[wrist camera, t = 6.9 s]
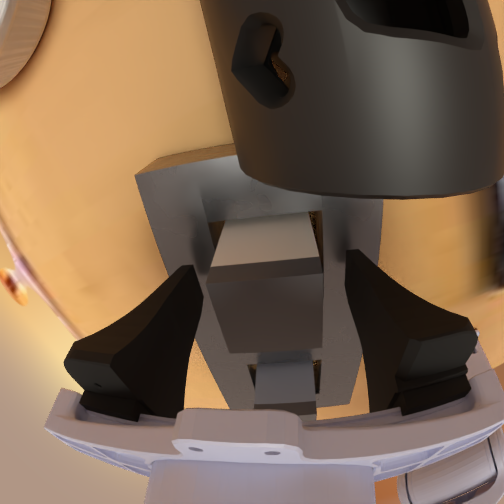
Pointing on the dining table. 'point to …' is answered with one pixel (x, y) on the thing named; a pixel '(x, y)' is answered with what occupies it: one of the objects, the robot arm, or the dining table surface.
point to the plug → (268, 284)
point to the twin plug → (287, 388)
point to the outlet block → (246, 206)
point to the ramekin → (20, 33)
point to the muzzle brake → (362, 94)
